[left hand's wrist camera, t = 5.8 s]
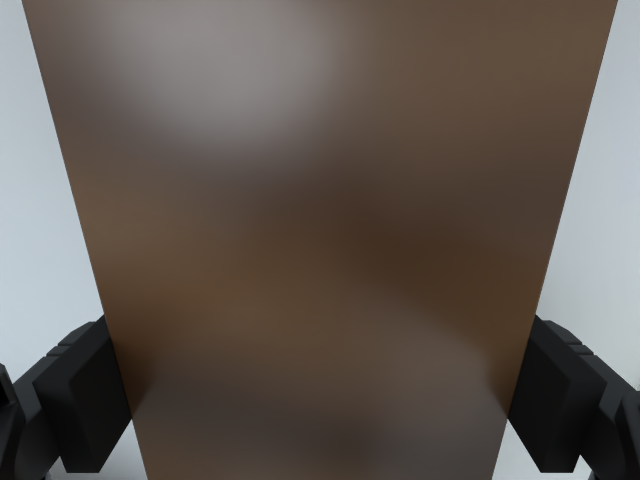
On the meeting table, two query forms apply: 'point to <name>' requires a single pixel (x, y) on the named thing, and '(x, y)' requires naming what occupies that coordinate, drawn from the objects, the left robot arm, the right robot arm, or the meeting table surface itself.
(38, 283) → the meeting table surface
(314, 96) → the wooden crate block
